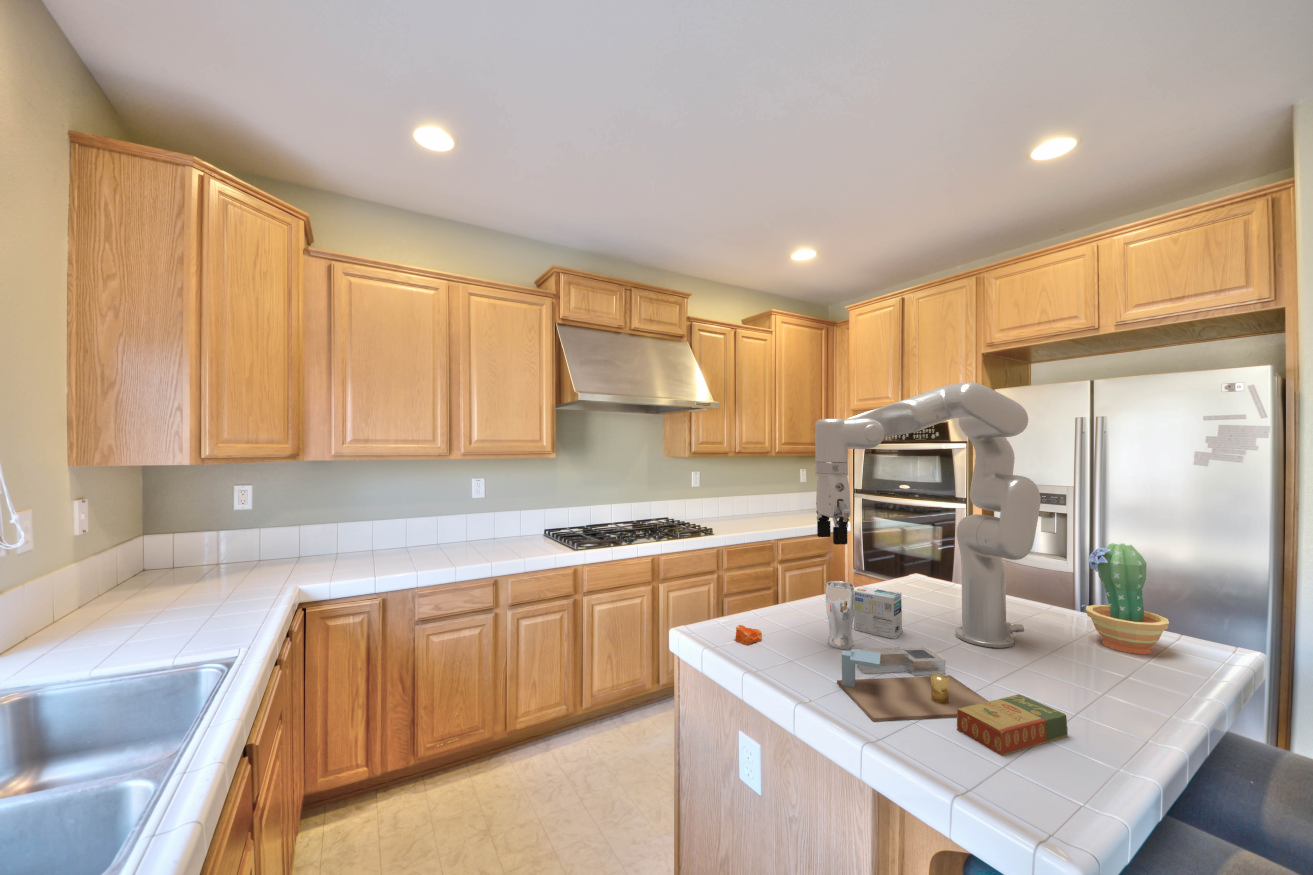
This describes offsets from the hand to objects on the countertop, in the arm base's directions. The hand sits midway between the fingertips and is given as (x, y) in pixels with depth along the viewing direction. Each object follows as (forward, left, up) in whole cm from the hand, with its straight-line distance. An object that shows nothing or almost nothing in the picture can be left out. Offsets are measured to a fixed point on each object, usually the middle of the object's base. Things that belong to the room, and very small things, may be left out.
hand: (831, 540), depth 124 cm
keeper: (+2, +19, -27) cm, 33 cm away
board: (-6, +23, -27) cm, 36 cm away
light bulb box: (-18, -12, -27) cm, 35 cm away
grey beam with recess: (-10, +10, -27) cm, 31 cm away
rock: (+18, -9, -28) cm, 34 cm away
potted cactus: (-73, +4, -27) cm, 78 cm away
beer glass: (-4, -4, -27) cm, 27 cm away
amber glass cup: (-10, +26, -27) cm, 39 cm away
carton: (-16, +37, -27) cm, 48 cm away
